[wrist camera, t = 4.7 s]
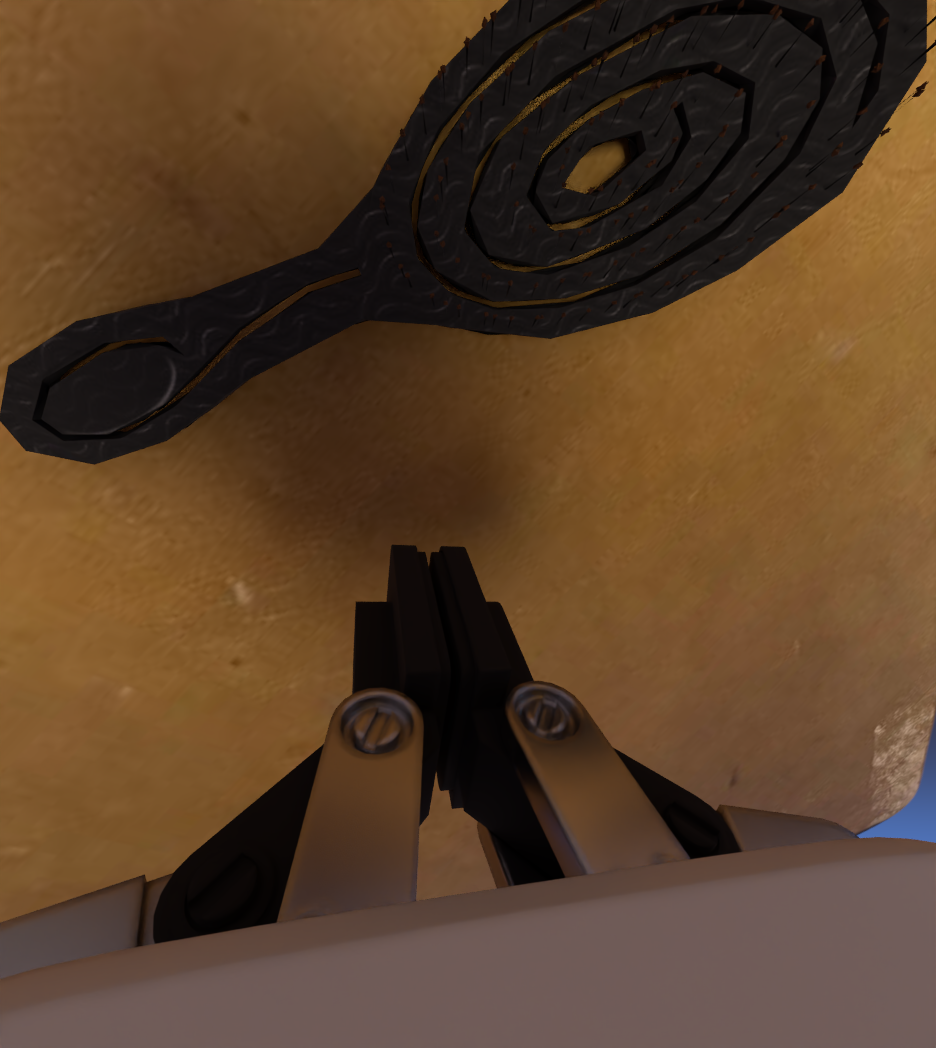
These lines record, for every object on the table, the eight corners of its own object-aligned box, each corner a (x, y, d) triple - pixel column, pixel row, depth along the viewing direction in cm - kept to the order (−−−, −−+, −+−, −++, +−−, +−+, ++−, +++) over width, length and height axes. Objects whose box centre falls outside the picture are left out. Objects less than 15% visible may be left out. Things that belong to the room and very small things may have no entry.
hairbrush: (-236, 279, 9) (1013, -335, 8) (-73, 279, 12) (832, -157, 11) (85, 589, 13) (949, 212, 12) (145, 527, 16) (829, 226, 15)
